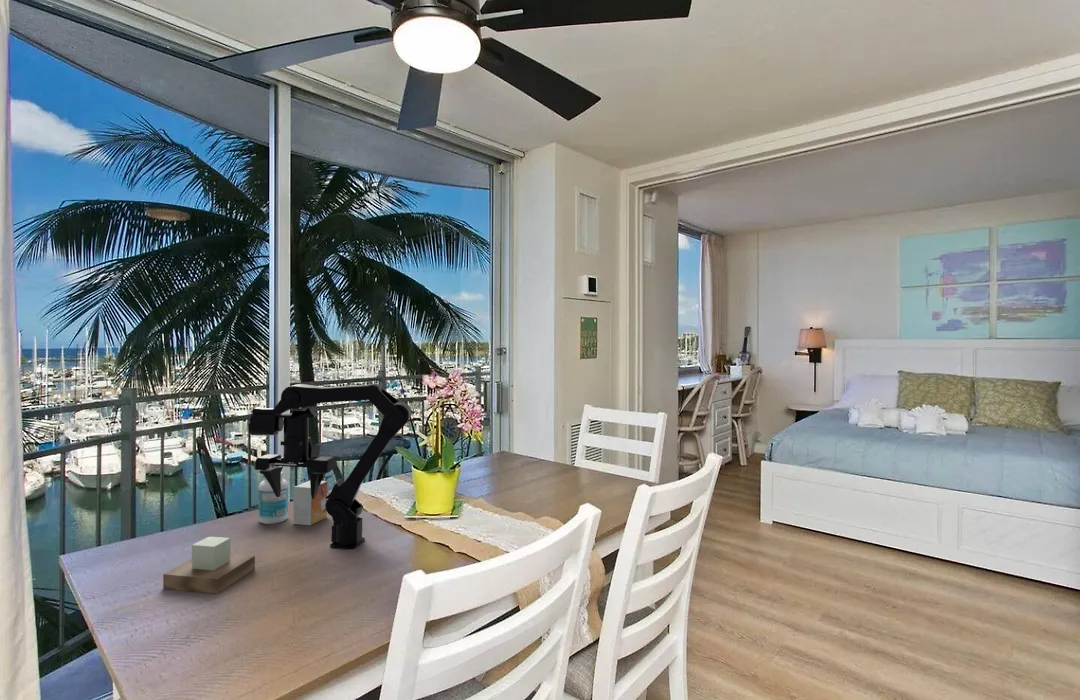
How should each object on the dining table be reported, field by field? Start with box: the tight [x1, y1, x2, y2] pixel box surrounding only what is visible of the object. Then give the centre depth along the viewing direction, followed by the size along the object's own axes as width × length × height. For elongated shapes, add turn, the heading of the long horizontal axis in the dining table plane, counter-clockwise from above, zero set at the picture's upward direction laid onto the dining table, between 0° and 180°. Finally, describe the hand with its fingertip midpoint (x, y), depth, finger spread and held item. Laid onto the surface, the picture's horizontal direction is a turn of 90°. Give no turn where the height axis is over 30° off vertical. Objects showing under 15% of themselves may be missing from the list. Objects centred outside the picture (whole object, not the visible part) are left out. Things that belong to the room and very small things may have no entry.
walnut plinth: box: [162, 553, 256, 594], centre depth 119 cm, size 12×12×3 cm
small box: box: [292, 479, 328, 526], centre depth 157 cm, size 8×6×10 cm
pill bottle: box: [257, 471, 289, 525], centre depth 156 cm, size 8×7×14 cm
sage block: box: [191, 535, 231, 570], centre depth 119 cm, size 5×5×5 cm
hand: (295, 497), depth 139 cm, fingers open, 9 cm apart
